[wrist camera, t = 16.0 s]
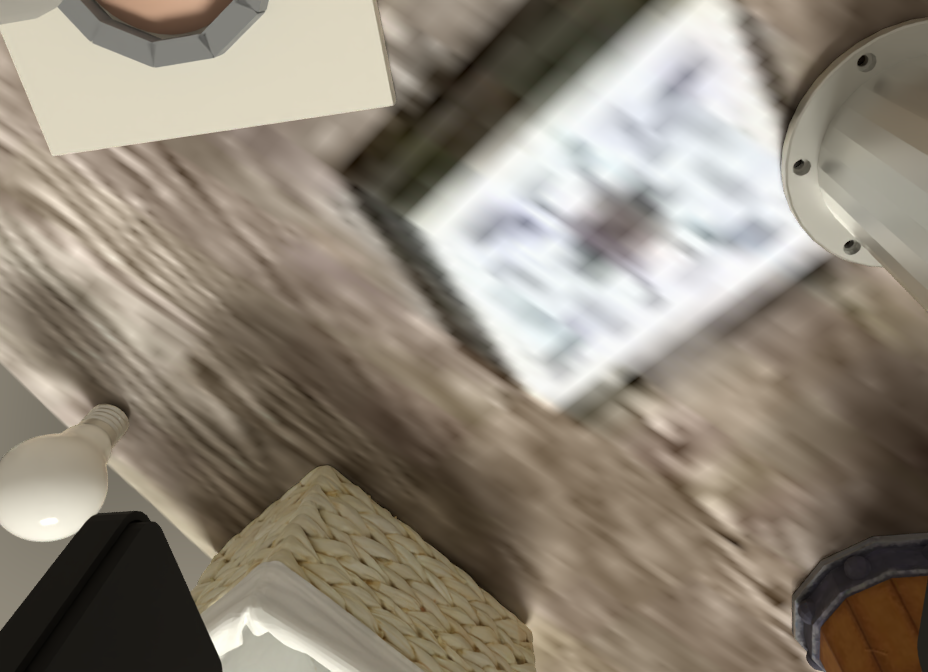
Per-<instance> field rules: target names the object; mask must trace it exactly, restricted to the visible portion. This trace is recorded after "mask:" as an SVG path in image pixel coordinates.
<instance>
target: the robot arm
mask: <svg viewBox="0 0 928 672" xmlns="http://www.w3.org/2000/svg"><path fill="white" fill-rule="evenodd" d="M862 55H864V56H865V61H864V62H863V64H861V65H857V62H858V59H859V58H860V57H861V56H862ZM800 159H801V160H802V163H801V165H800V166H798V167H794V164H795V163H796V162H797V161H798V160H800ZM781 175H782V183H783V191H784V194H785V197H786V199H787V202H788V205H789V208H790V211H791V212H792V214H793V215H794V217H795V218H796V220H797V221H798V223H799V224H800V226H801V227H802V229H803V230H804V231H805V232H806V233H807V234H808V235H809V236H810V237H811V239H812V240H813V241H815V242H816V243H817V244H819V245H820V246H821V247H822V248H824V249H825V250H826V251H828V252H829V253H831V254H833V255H835V256H837V257H839V258H841V259H843V260H846V261H849V262H853V263H857V264H861V265H865V266H869V267H884V268H885V269H886V270H887V271H888V272H889V273H890V274H891V275H892V276H893V277H894V279H895V280H896V281H897V282H898V283H899V284H900V285H901V286H902V287H903V288H904V289H905V290H906V291H907V292H908V293H909V294H910V295H911V296H912V297H913V298H914V299H915V300H916V301H917V302H918V303H919V304H920V305H921V306H922V307H923V308H924V309H925V310H926V311H927V312H928V17H926V18H920V19H913V20H909V21H906V22H903V23H900V24H897V25H894V26H891V27H888V28H885V29H883V30H881V31H879V32H877V33H875V34H873V35H871V36H869V37H867V38H866V39H864V40H862V41H860V42H858V43H857V44H855V45H854V46H853V47H851V48H850V49H849V50H847V51H846V52H845V53H843V54H842V55H841V56H839V57H838V58H837V59H835V60H834V61H833V62H832V63H831V64H830V66H829V67H828V68H827V69H826V70H825V71H824V72H823V73H822V74H821V75H820V76H819V77H818V78H817V79H816V80H815V81H814V83H813V84H812V86H811V87H810V88H809V90H808V91H807V93H806V94H805V96H804V97H803V98H802V100H801V101H800V103H799V105H798V107H797V109H796V111H795V113H794V116H793V118H792V120H791V122H790V124H789V127H788V131H787V134H786V138H785V141H784V145H783V150H782V163H781ZM850 240H851V242H850V243H849V244H847V245H845V243H847V242H848V241H850ZM917 650H918V658H919V663H920V666H921V669H922V672H928V580H927V586H926V592H925V598H924V604H923V610H922V616H921V622H920V629H919V635H918V641H917ZM0 672H223V671H222V663H221V660H220V658H219V655H218V653H217V651H216V649H215V646H214V644H213V642H212V640H211V638H210V635H209V633H208V631H207V629H206V626H205V624H204V622H203V620H202V618H201V615H200V613H199V611H198V609H197V606H196V604H195V602H194V600H193V598H192V595H191V593H190V591H189V589H188V586H187V584H186V582H185V580H184V578H183V575H182V573H181V571H180V569H179V567H178V564H177V562H176V560H175V558H174V556H173V553H172V551H171V549H170V547H169V544H168V542H167V540H166V538H165V536H164V533H163V531H162V529H161V527H160V526H159V525H158V524H157V523H156V522H151V521H150V520H149V518H148V517H147V515H145V514H144V513H143V512H139V511H128V512H112V513H98V514H95V515H93V516H91V517H90V518H89V519H88V520H87V521H86V522H85V523H84V524H83V526H82V527H81V528H80V530H79V531H78V532H77V533H76V535H75V536H74V537H73V539H72V540H71V541H70V543H69V544H68V545H67V546H66V548H65V549H64V550H63V551H62V553H61V554H60V555H59V557H58V558H57V559H56V560H55V562H54V563H53V564H52V565H51V567H50V568H49V569H48V571H47V572H46V573H45V575H44V576H43V577H42V578H41V580H40V581H39V582H38V583H37V585H36V586H35V587H34V589H33V590H32V591H31V592H30V594H29V595H28V596H27V598H26V599H25V600H24V601H23V603H22V604H21V605H20V607H19V608H18V609H17V610H16V612H15V613H14V614H13V616H12V617H11V618H10V619H9V621H8V622H7V623H6V625H5V626H4V627H3V629H2V630H1V631H0Z"/></svg>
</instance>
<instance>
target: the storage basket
mask: <svg viewBox="0 0 928 672" xmlns="http://www.w3.org/2000/svg"><path fill="white" fill-rule="evenodd" d="M396 518H397V516H395V517H393V516H391V513H390V512H389V511H387V509H385V508H382V507H381V506H379V505H378V504H377V503H376V502H374V501H373V500H372V499H371V496H370V495H369V494H368V495H367V494H366V493H365V492H364V491H363V490H362V489H361V488H360V487H358V486H356V485H354V484H353V483H351V482H350V481H349V480H348V479H346V478H345V477H344V476H343V475H342V474H341V473H339V472H338V471H337V470H336V469H334V468H333V467H331V466H329V465H325V466H319V467H317V468H315V469H314V470H312V471H311V472H309V473H308V474H307V475H306V476H305V477H304V478H303V479H301V481H300V482H299V484H296V485H295V486H293V487H292V488H291V489H290V490H289V491H287V492H286V493H285V494H284V495H283V496H282V497H281V498H280V499H279V500H277V501H275V502H274V503H273V504H271V505H270V506H269V507H268V508H267V509H266V510H265V511H264V512H263V513H262V514H261V515H260V516H259V517H258V518H256V519H255V520H253V521H252V522H251V523H250V524H249V525H247V526H246V527H245V528H244V529H243V531H242V532H241V533H239V534H237V535H235V536H234V537H232V538H231V539H230V540H229V541H228V542H227V544H226V545H225V546H224V548H223V549H222V550H221V551H220V552H219V553H218V554H217V555H215V556H214V558H213V559H212V561H211V564H210V565H209V566H208V567H207V569H206V570H205V571H204V573H203V574H202V575H201V577H200V579H199V581H198V584H197V586H196V587H195V588H194V589H193V590H192V591H191V592H190V593H191V595H192V598H193V600H194V602H195V604H196V606H197V609H198V611H199V613H200V615H201V618H202V620H203V622H204V624H205V626H206V629H207V631H208V633H209V635H210V638H211V640H212V642H213V644H214V646H215V649H216V651H217V653H218V655H219V658H220V660H221V663H222V671H223V672H536V668H535V656H534V654H533V652H534V651H533V644H532V642H533V635H532V632H531V631H530V629H529V628H528V627H527V626H526V625H525V624H523V623H522V622H521V621H520V620H519V619H518V618H517V617H516V615H514V614H513V613H511V612H509V611H508V610H507V609H506V608H504V607H503V606H502V605H500V604H499V603H498V602H497V600H496V599H494V598H493V597H492V596H491V595H490V594H489V593H487V592H486V591H485V590H483V589H481V588H479V587H478V585H477V584H476V583H475V582H474V580H473V579H472V578H471V577H470V576H469V575H468V574H467V573H465V572H464V571H463V570H462V569H460V568H459V567H457V566H455V565H454V564H452V563H450V561H449V560H448V559H447V558H446V557H445V556H444V555H442V554H441V553H440V552H439V551H437V550H436V549H435V548H433V547H432V546H431V545H429V544H428V543H426V542H425V541H423V540H422V538H421V537H420V536H419V534H418V533H417V532H415V531H414V530H413V529H412V528H410V527H409V526H408V525H406V524H404V523H403V522H401V521H400V520H398V519H396Z"/></svg>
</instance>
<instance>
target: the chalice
mask: <svg viewBox="0 0 928 672" xmlns="http://www.w3.org/2000/svg"><path fill="white" fill-rule="evenodd" d="M62 1H63V0H0V25H1V24H7V23H13V22H19V21H25V20H30V19H36V18H38V17H40V16H42V15H44V14H46V13H47V12H49V11H51V10H53V9H55V8H57V7H58V5H59V4H60V3H61V2H62Z"/></svg>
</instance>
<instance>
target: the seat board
mask: <svg viewBox="0 0 928 672" xmlns="http://www.w3.org/2000/svg"><path fill="white" fill-rule="evenodd" d="M0 31H1V33H2V36H3V38H4V41H5V43H6V46H7V48H8V50H9V53H10V55H11V58H12V60H13V62H14V65H15V67H16V70H17V72H18V74H19V77H20V79H21V82H22V84H23V87H24V89H25V91H26V94H27V96H28V99H29V101H30V103H31V106H32V108H33V111H34V113H35V115H36V118H37V120H38V123H39V125H40V128H41V130H42V132H43V135H44V137H45V140H46V142H47V144H48V147H49V149H50V152H51V154H52V156H58V155H65V154H71V153H78V152H85V151H91V150H98V149H105V148H112V147H118V146H125V145H132V144H138V143H145V142H152V141H159V140H165V139H172V138H179V137H185V136H192V135H199V134H206V133H212V132H219V131H226V130H232V129H239V128H246V127H253V126H259V125H266V124H273V123H279V122H286V121H293V120H300V119H306V118H313V117H320V116H326V115H333V114H340V113H347V112H353V111H360V110H367V109H373V108H380V107H387V106H393V105H394V104H395V103H396V102H397V101H396V96H395V90H394V85H393V80H392V75H391V70H390V65H389V60H388V55H387V50H386V45H385V40H384V35H383V30H382V25H381V19H380V14H379V9H378V4H377V0H63V1H62V2H61V3H60V4H59V5H58V7H57V8H55V9H53V10H51V11H49V12H47V13H46V14H44V15H42V16H40V17H38V18H36V19H30V20H25V21H19V22H13V23H7V24H1V25H0Z"/></svg>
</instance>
